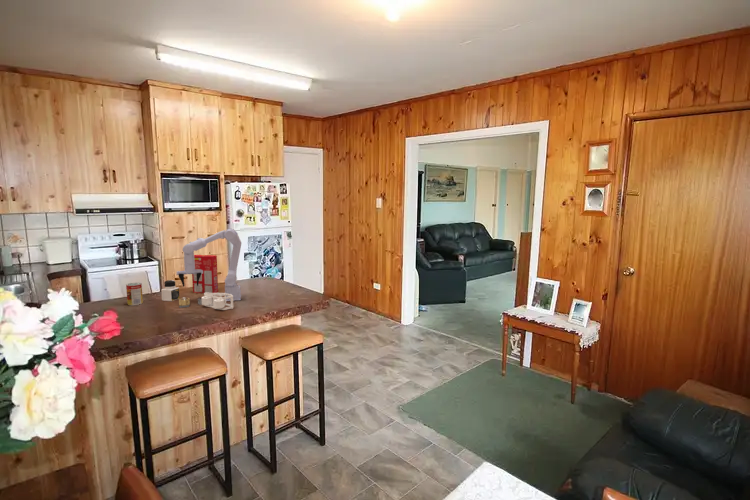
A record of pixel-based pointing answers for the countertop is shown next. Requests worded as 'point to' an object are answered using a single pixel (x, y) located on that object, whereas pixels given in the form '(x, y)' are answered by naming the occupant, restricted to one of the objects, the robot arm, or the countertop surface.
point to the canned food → (134, 293)
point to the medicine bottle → (170, 291)
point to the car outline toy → (217, 300)
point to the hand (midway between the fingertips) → (190, 285)
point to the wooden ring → (184, 301)
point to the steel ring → (200, 301)
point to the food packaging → (206, 274)
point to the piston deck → (184, 305)
